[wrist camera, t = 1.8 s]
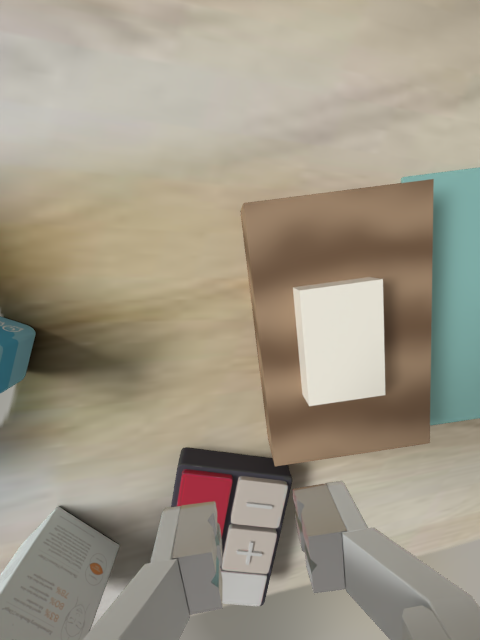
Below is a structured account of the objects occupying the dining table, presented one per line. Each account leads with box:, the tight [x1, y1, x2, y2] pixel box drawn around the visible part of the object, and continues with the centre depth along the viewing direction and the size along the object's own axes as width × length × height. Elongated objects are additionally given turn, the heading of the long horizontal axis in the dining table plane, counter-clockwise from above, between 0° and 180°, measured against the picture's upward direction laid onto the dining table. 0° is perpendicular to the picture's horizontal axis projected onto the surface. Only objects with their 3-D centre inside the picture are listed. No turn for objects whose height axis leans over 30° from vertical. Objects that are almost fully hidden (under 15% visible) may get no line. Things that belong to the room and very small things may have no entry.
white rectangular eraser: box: [293, 277, 385, 406], centre depth 23 cm, size 9×6×2 cm, turn 7°
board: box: [241, 179, 434, 466], centre depth 26 cm, size 22×14×4 cm, turn 7°
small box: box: [0, 507, 119, 640], centre depth 25 cm, size 8×6×13 cm
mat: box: [401, 168, 480, 425], centre depth 28 cm, size 24×13×1 cm, turn 7°
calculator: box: [171, 448, 292, 606], centre depth 30 cm, size 11×4×15 cm
